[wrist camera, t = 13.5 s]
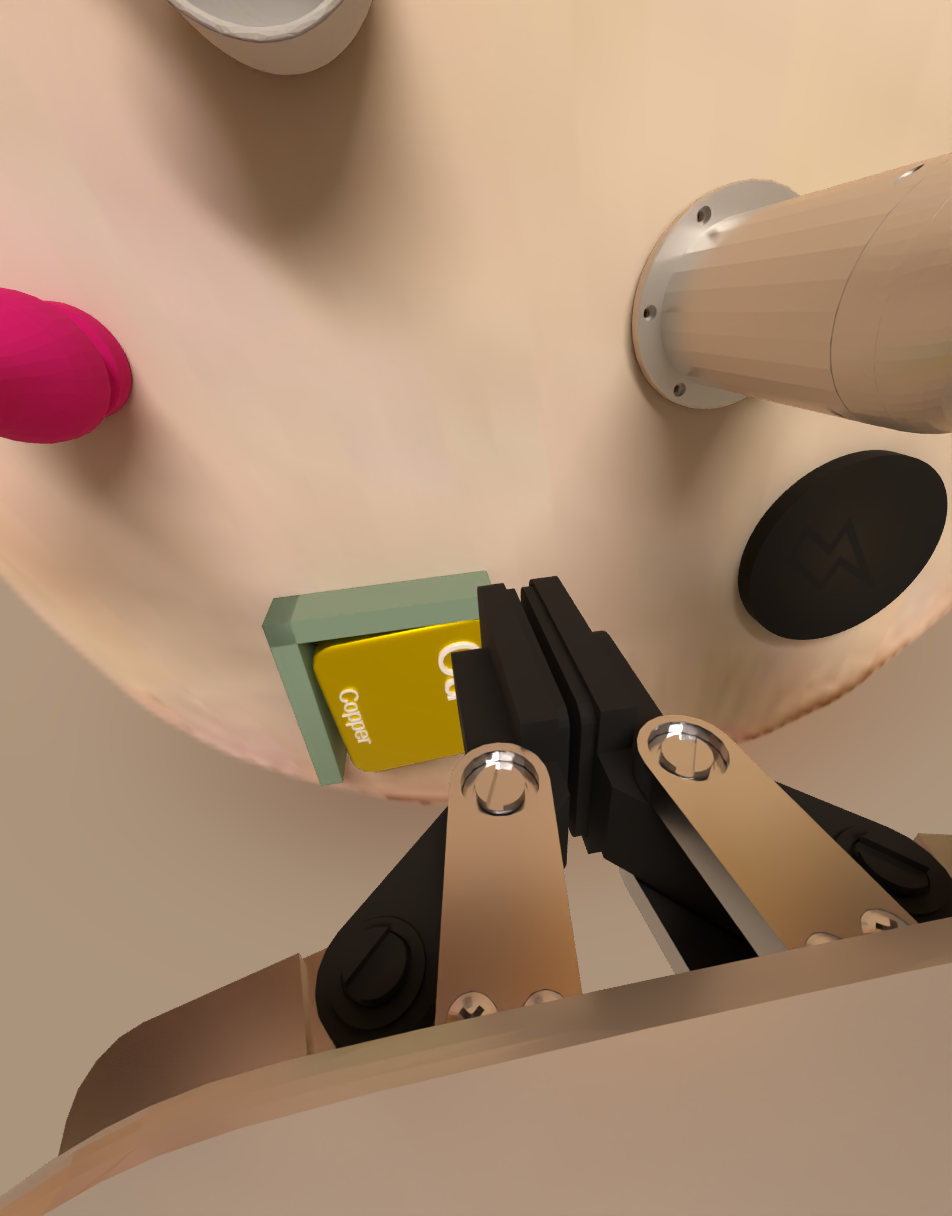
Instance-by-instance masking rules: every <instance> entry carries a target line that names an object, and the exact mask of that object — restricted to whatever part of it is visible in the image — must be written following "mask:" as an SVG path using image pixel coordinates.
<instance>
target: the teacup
mask: <svg viewBox="0 0 952 1216" xmlns="http://www.w3.org/2000/svg"><path fill="white" fill-rule="evenodd" d="M166 1H168V2H169V3H170V4H171V5H172V6H173V7H174V8H175V9H176V10H177V11H178V12H179V13H180V14H181V15H182V16H183V17H184V18H185V19H186V20H187V21H188V22H189V23H190V24H191V25H192V26H193V27H194V28H195V29H196V30H197V31H198V32H200V33H201V34H202V35H203V36H204V37H205V38H206V39H207V40H209V41H210V42H211V43H212V44H213V45H215V46H216V47H217V48H219V49H220V50H222V51H223V52H224V53H226V54H227V55H229V56H231V57H232V58H234V59H236V60H237V61H239V62H241V63H243V64H245V65H247V66H250V67H252V68H254V69H257V70H260V71H264V72H268V73H272V74H278V75H296V74H304V73H307V72H311V71H314V70H316V69H318V68H320V67H322V66H324V65H326V64H328V63H329V62H331V61H332V60H333V59H335V58H336V57H337V56H338V55H339V54H340V53H341V52H342V51H343V50H344V49H345V48H346V47H347V46H348V45H349V44H350V42H351V41H352V40H353V39H354V37H355V36H356V34H357V33H358V31H359V29H360V27H361V25H362V23H363V22H364V20H365V18H366V16H367V14H368V11H369V8H370V6H371V3H372V0H166Z"/></svg>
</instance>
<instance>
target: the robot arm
mask: <svg viewBox="0 0 952 1216" xmlns="http://www.w3.org/2000/svg"><path fill="white" fill-rule="evenodd" d="M697 214H699V217H700V218H699V221H697ZM645 309H646V310H647V315H646V316H645V317H644V315H643V313H644V310H645ZM632 338H633V344H634V349H635V354H636V358H637V361H638V363H639V365H640V368H641V370H642V373H643V375H644V376H645V377H646V379H647V380H648V382H649V383H650V385H651V386H652V387H653V388H654V389H655V390H656V391H657V392H658V393H660V394H661V395H662V396H663V397H664V398H666V399H668V400H670V401H672V402H674V403H676V404H679V405H683V406H686V407H689V408H696V409H713V408H721V407H724V406H727V405H730V404H734V403H737V402H739V401H740V400H742V399H744V398H746V397H748V396H751V397H755V398H759V399H764V400H768V401H772V402H777V403H781V404H785V405H789V406H794V407H798V408H802V409H806V410H811V411H815V412H819V413H824V414H828V415H832V416H836V417H841V418H845V419H849V420H853V421H858V422H862V423H866V424H871V425H875V426H879V427H885V428H889V429H894V430H898V431H904V432H911V433H920V434H943V433H952V153H949V154H945V155H942V156H938V157H935V158H931V159H928V160H924V161H921V162H917V163H914V164H910V165H907V166H903V167H900V168H896V169H893V170H889V171H886V172H883V173H879V174H876V175H872V176H869V177H865V178H862V179H858V180H855V181H851V182H848V183H844V184H841V185H837V186H834V187H830V188H827V189H823V190H820V191H816V192H813V193H810V194H806V195H803V196H800V195H799V194H797V193H796V192H795V191H794V190H792V189H791V188H790V187H788V186H786V185H783V184H781V183H778V182H775V181H773V180H764V179H749V180H743V181H738V182H733V183H730V184H728V185H725V186H723V187H720V188H717V189H715V190H713V191H711V192H710V193H708V194H706V195H704V196H703V197H701V198H699V199H697V200H696V201H695V202H694V203H692V204H691V205H690V206H689V207H688V208H686V209H685V210H684V211H683V212H682V213H681V214H679V215H678V216H677V218H676V219H675V220H674V221H673V222H672V223H671V225H670V226H669V227H668V228H667V229H666V231H665V232H664V233H663V234H662V236H661V238H660V239H659V241H658V242H657V244H656V246H655V247H654V249H653V250H652V252H651V254H650V256H649V258H648V260H647V263H646V265H645V267H644V269H643V272H642V274H641V277H640V280H639V284H638V287H637V291H636V295H635V299H634V307H633V315H632ZM675 386H676V390H675V391H674V388H675ZM477 598H478V610H479V623H480V635H481V647H482V648H478V649H471V650H465V651H458V652H451V661H452V669H453V678H454V685H455V693H456V700H457V707H458V714H459V720H460V727H461V733H462V739H463V745H464V752H465V756H464V757H462V758H461V759H460V760H459V762H458V763H457V765H456V766H455V768H454V769H453V772H452V776H451V780H450V786H449V802H448V806H447V808H446V809H445V810H444V811H443V812H442V813H441V814H440V816H439V817H438V818H437V819H436V820H435V821H434V823H433V824H432V825H431V826H430V827H429V828H428V830H427V831H426V832H425V833H424V834H423V835H422V836H421V837H420V839H419V840H418V841H417V842H416V843H415V845H414V846H413V847H412V848H411V849H410V850H409V851H408V852H407V854H406V855H405V856H404V857H403V858H402V860H401V861H400V862H399V863H398V864H397V865H396V866H395V867H394V869H393V870H392V871H391V872H390V873H389V874H388V875H387V877H386V878H385V879H384V880H383V881H382V883H380V885H379V886H378V887H377V888H376V889H375V890H374V892H373V893H372V894H371V895H370V896H369V897H368V899H367V900H366V901H365V902H364V903H363V904H362V905H361V906H360V908H359V909H358V910H357V911H356V912H355V913H354V915H353V916H352V917H351V918H350V919H349V920H348V921H347V923H346V924H345V925H344V926H343V927H342V928H341V929H340V931H339V932H338V933H337V935H336V936H335V938H334V939H333V941H332V942H331V944H330V945H329V947H328V948H325V949H323V950H321V951H319V952H317V953H314V954H312V955H310V956H308V957H306V958H303V959H302V957H301V955H300V954H299V953H297V954H295V955H293V956H290V957H288V958H286V959H284V960H281V961H279V962H277V963H275V964H273V965H270V966H268V967H266V968H264V969H261V970H259V971H257V972H255V973H252V974H250V975H248V976H246V977H244V978H241V979H239V980H237V981H235V982H232V983H230V984H228V985H226V986H223V987H221V988H219V989H217V990H215V991H212V992H210V993H208V994H206V995H203V996H201V997H199V998H197V999H195V1000H192V1001H190V1002H188V1003H185V1004H183V1005H181V1006H179V1007H176V1008H174V1009H172V1010H170V1011H168V1012H165V1013H163V1014H161V1015H159V1016H156V1017H154V1018H152V1019H150V1020H148V1021H145V1022H143V1023H141V1024H140V1025H138V1026H137V1027H135V1028H133V1029H132V1030H130V1031H129V1032H127V1033H126V1034H124V1035H122V1036H121V1037H119V1038H118V1039H117V1040H116V1041H115V1042H114V1043H113V1044H112V1045H111V1046H110V1048H108V1050H106V1052H105V1053H104V1054H103V1055H102V1056H101V1057H100V1058H99V1059H98V1060H97V1061H96V1062H95V1064H94V1065H93V1067H92V1068H91V1070H90V1072H89V1073H88V1075H87V1076H86V1078H85V1079H84V1081H83V1082H82V1084H81V1086H80V1087H79V1088H78V1091H77V1093H76V1096H75V1099H74V1101H73V1104H72V1107H71V1109H70V1112H69V1115H68V1117H67V1120H66V1124H65V1129H64V1133H63V1138H62V1142H61V1147H60V1151H59V1155H58V1157H56V1158H54V1159H53V1160H51V1161H50V1162H48V1163H47V1164H45V1165H44V1166H42V1167H41V1168H40V1169H38V1170H37V1171H36V1172H34V1173H33V1174H31V1175H30V1176H28V1177H27V1178H26V1179H24V1180H23V1181H21V1182H20V1183H19V1184H17V1185H16V1186H14V1187H13V1188H12V1189H10V1190H9V1191H8V1192H6V1193H5V1194H3V1195H2V1196H0V1216H952V835H944V834H921V833H918V834H917V836H916V837H915V839H914V840H911V839H910V838H908V837H906V836H904V835H902V834H900V833H898V832H896V831H894V830H893V829H890V828H888V827H886V826H883V825H881V824H879V823H876V822H874V821H871V820H869V819H867V818H864V817H861V816H859V815H857V814H854V813H852V812H849V811H847V810H844V809H842V808H840V807H837V806H834V805H832V804H830V803H827V802H825V801H822V800H820V799H817V798H815V797H812V796H810V795H808V794H805V793H803V792H800V791H798V790H795V789H793V788H790V787H788V786H785V785H783V784H781V783H778V782H776V781H773V780H772V779H771V778H770V777H769V776H768V775H767V774H766V773H765V772H764V771H763V770H762V769H761V768H760V767H759V766H758V765H757V764H756V763H755V762H754V761H753V760H752V759H751V758H750V757H749V756H748V755H747V754H746V753H745V752H744V751H743V750H742V749H741V748H740V747H739V746H738V745H737V744H736V743H735V742H734V741H733V740H732V739H731V738H730V737H729V736H728V735H726V734H725V733H724V732H722V731H721V730H720V729H719V728H717V727H716V726H714V725H712V724H710V723H708V722H706V721H704V720H701V719H698V718H694V717H690V716H687V715H673V714H672V715H665V716H663V715H662V713H661V712H660V710H659V709H658V707H657V706H656V704H655V703H654V701H653V700H652V698H651V697H650V695H649V694H648V692H647V691H646V689H645V688H644V686H643V685H642V683H641V682H640V680H639V679H638V677H637V676H636V674H635V673H634V671H633V670H632V668H631V667H630V665H629V664H628V662H627V661H626V659H625V658H624V656H623V655H622V653H621V652H620V650H619V649H618V647H617V646H616V644H615V643H614V641H613V640H612V638H611V637H610V636H609V634H608V633H607V632H605V631H596V632H592V631H591V629H590V628H589V626H588V625H587V623H586V621H585V620H584V618H583V617H582V615H581V613H580V612H579V610H578V609H577V607H576V605H575V604H574V602H573V600H572V599H571V597H570V596H569V594H568V592H567V591H566V589H565V588H564V586H563V584H562V583H561V581H560V580H559V578H558V577H557V576H552V577H545V578H537V579H531V580H530V582H529V587H522V588H521V602H520V600H519V597H518V595H517V593H516V591H515V589H506V587H505V585H504V583H500V584H492V585H485V586H477ZM568 827H569V830H570V833H571V834H572V836H573V837H576V836H582V838H583V841H584V843H585V846H586V849H587V852H588V854H591V853H596V852H602V854H603V857H604V858H605V859H607V860H608V861H610V862H612V863H614V864H615V865H617V866H619V870H620V874H621V877H622V879H623V882H624V884H625V886H626V888H627V889H628V891H629V893H630V895H631V897H632V898H633V900H634V902H635V904H636V905H637V907H638V909H639V911H640V912H641V914H642V916H643V918H644V920H645V921H646V923H647V925H648V927H649V929H650V930H651V932H652V934H653V936H654V937H655V939H656V941H657V943H658V944H659V946H660V948H661V950H662V952H663V953H664V955H665V957H666V959H667V960H668V962H669V964H670V965H671V968H672V969H673V971H674V973H675V975H670V976H665V977H661V978H656V979H651V980H646V981H642V982H637V983H633V984H627V985H623V986H619V987H613V988H609V989H604V990H599V991H595V992H590V993H586V994H582V988H581V981H580V974H579V968H578V961H577V954H576V948H575V941H574V935H573V928H572V921H571V915H570V908H569V901H568V895H567V888H566V883H565V882H566V881H565V875H564V868H565V866H566V864H567V844H568V843H567V842H568Z"/></svg>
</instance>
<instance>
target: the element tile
mask: <svg viewBox="0 0 952 1216" xmlns="http://www.w3.org/2000/svg"><path fill="white" fill-rule="evenodd" d="M478 648H482V647H481V635H480V623H479V619H473V620H465V621H458V622H451V623H444V624H437V625H430V626H422V627H415V628H408V629H401V630H394V631H387V632H379V633H372V634H365V635H358V636H351V637H344V638H336V639H329V640H322V641H317V644H316V648H315V653H314V657H313V664H312V666H313V671H314V674H315V677H316V679H317V681H318V684H319V686H320V688H321V691H322V693H323V695H324V698H325V700H326V702H327V705H328V707H329V709H330V712H331V714H332V716H333V719H334V721H335V723H336V726H337V728H338V730H339V733H340V735H341V737H342V740H343V742H344V744H345V747H346V749H347V751H348V754H349V756H350V758H351V761H352V762H353V764H354V765H355V766H356V767H358V768H359V769H361V770H363V771H367V772H377V771H383V770H388V769H393V768H397V767H402V766H406V765H411V764H416V763H420V762H425V761H430V760H434V759H439V758H443V757H448V756H453V755H457V754H462V753H465V752H464V745H463V739H462V733H461V727H460V720H459V714H458V707H457V700H456V693H455V685H454V678H453V669H452V661H451V652H458V651H465V650H471V649H478Z"/></svg>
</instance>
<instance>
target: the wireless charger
mask: <svg viewBox="0 0 952 1216" xmlns="http://www.w3.org/2000/svg"><path fill="white" fill-rule="evenodd" d="M946 516H947V494H946V489H945V486H944V483H943V481H942V479H941V477H940V476H939V474H938V473H937V472H936V471H935V470H934V469H933V468H932V467H931V466H930V465H928V464H927V463H925V462H924V461H921V460H919V459H917V458H913V457H910V456H906V455H903V454H899V453H896V452H891V451H885V450H868V451H861V452H856V453H852V454H848V455H845V456H842V457H839V458H837V459H834V460H832V461H830V462H828V463H826V464H824V465H822V466H820V467H818V468H816V469H815V470H813V471H811V472H810V473H808V474H807V475H805V476H804V477H802V478H801V479H800V480H798V481H797V482H796V483H795V484H793V485H792V486H791V487H790V488H789V489H788V490H786V491H785V492H784V493H783V494H782V495H781V496H780V497H779V498H778V499H777V500H776V501H775V502H774V503H773V504H772V506H771V507H770V508H769V509H768V510H767V512H766V513H765V514H764V516H763V517H762V518H761V520H760V521H759V523H758V524H757V526H756V527H755V529H754V531H753V533H752V534H751V536H750V538H749V540H748V542H747V545H746V547H745V550H744V552H743V555H742V559H741V562H740V567H739V575H738V586H739V593H740V597H741V600H742V603H743V605H744V607H745V609H746V610H747V611H748V613H749V614H750V615H751V616H752V617H753V618H754V619H755V620H757V621H758V622H759V623H760V624H761V625H762V626H764V627H765V628H766V629H767V630H769V631H770V632H772V633H774V634H776V635H778V636H781V637H784V638H788V639H796V640H809V639H817V638H823V637H827V636H831V635H834V634H837V633H840V632H842V631H845V630H847V629H850V628H852V627H854V626H856V625H858V624H860V623H862V622H864V621H865V620H867V619H869V618H870V617H872V616H873V615H875V614H876V613H878V612H879V611H881V610H882V609H883V608H885V607H886V606H887V605H889V604H890V603H891V602H892V601H893V600H895V599H896V598H897V597H898V596H899V595H900V594H901V593H902V592H903V591H904V590H905V589H906V588H907V587H908V586H909V585H910V584H911V583H912V582H913V581H914V579H915V578H916V577H917V576H918V574H919V573H920V572H921V571H922V569H923V568H924V566H925V565H926V564H927V562H928V560H929V559H930V557H931V556H932V554H933V552H934V550H935V548H936V546H937V544H938V542H939V540H940V537H941V534H942V532H943V529H944V525H945V521H946Z"/></svg>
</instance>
